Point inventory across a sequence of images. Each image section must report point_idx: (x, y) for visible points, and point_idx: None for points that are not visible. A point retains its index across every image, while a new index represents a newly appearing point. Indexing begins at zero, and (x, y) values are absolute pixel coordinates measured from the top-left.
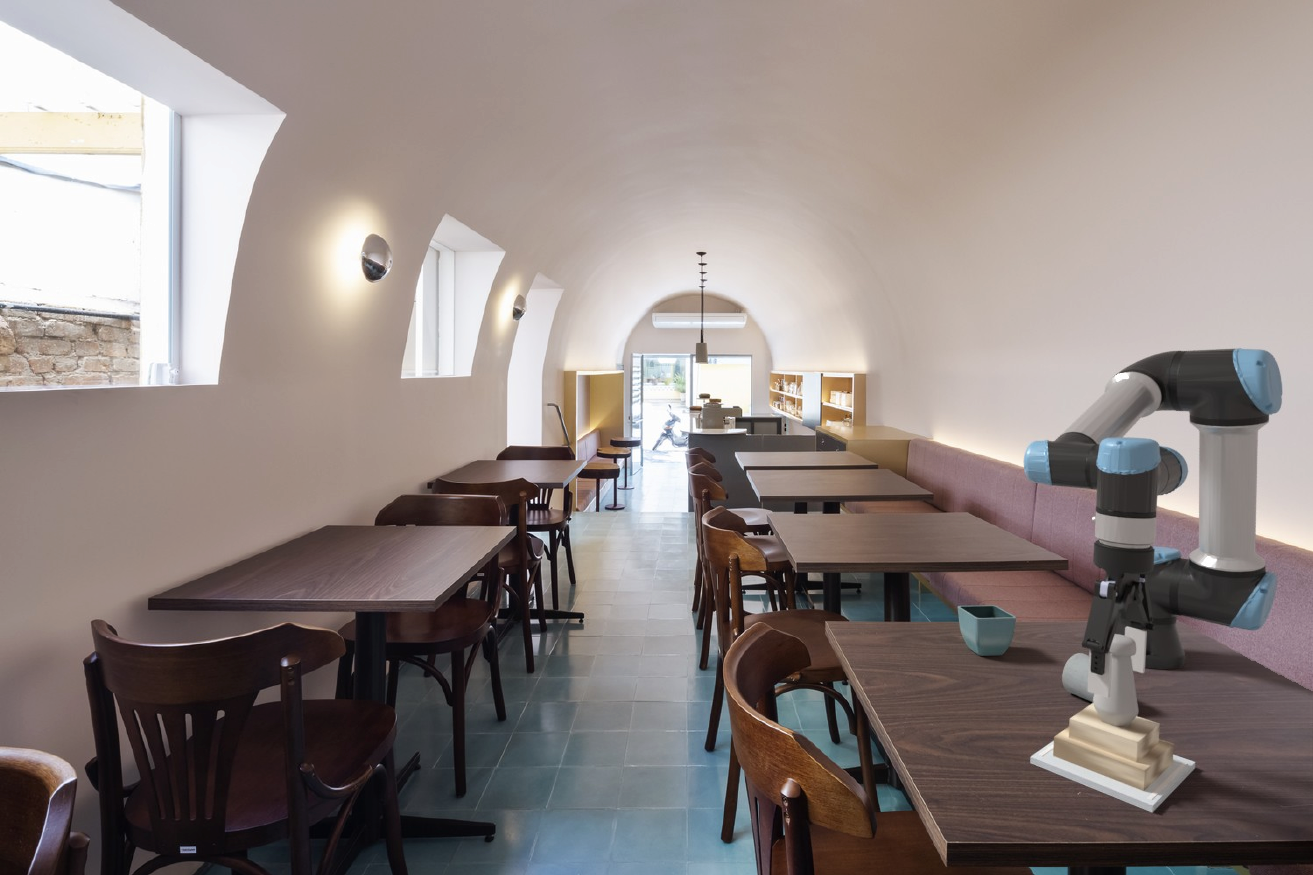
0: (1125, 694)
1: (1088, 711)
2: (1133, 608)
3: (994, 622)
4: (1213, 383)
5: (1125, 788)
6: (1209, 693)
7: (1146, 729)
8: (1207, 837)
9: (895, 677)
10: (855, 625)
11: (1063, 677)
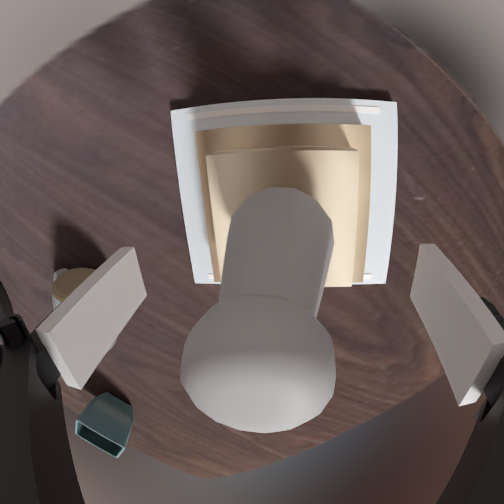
0: (313, 227)
1: None
2: (52, 474)
3: (105, 431)
4: None
5: (377, 147)
6: None
7: (268, 160)
8: (392, 34)
9: (270, 439)
10: (192, 472)
11: (114, 342)
